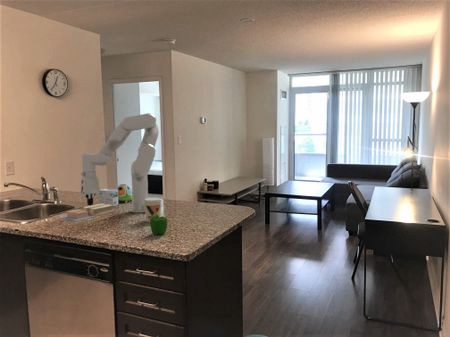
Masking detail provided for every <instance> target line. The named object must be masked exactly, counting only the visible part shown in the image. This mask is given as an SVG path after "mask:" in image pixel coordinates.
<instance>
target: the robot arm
mask: <svg viewBox="0 0 450 337" xmlns="http://www.w3.org/2000/svg"><path fill="white" fill-rule="evenodd" d="M138 130H144V133H143V136H142V139H141V142H140V144H139V146H138V149H137V157H136V159H135V160H134V161H133V162H132V163H131V166H130V172H131V173H130V174H131V190H132V201H131V202H132V204H131V205H132V206H131V207H132V208H130V209H129V211H130V212H131V213H139V214H141V213H145V204H144V200H145V199H146V198H149V190H148V189H149V182H148V174H149V172H150V170H151V168H152V166H153V162H154V160H155V157H156V148H155V147H156V143H157V141H158V139H159V138H158V137H159V134H160V133H159V126H158V123H157V117H156V116H155V115H154V114H152V113H149V112H148V113H143V114H137V115H130V116H125V117H124V118H123V119H122V120H120V122H119V123H118V125H117V126H116V128H115V129H114V130H113V132H112V133H111V134H110V136H108V137H109V138H108V139H107V140H106V142H105V143H104V145H103V146H101V149H100V150H99V151H98V152H97V153H92V152H91V153H90V152H88V153H87V152H86V153H82V155H81V164H82V165H81V166H82V168H81V170H82V172H81V173H80V176H81V179H80V193H81V197H85V199H86V200H87V202H86V204H87V206H91V205H94V198H95V196H96V195H99V190H100V181H99V178H98V175H97V170H96V169H97V166H99V167H100V166H101V167H102V166H103V167H104V166H107V165H108V164H109V163H110V159H111V157H112V156H113V154H115V152H117V150H118V149H119V148H121V147H122V145H123V144H124V143H125V141H126V140H127V139H128V138H129V136H130V135H131V133H132V132H133V131H138Z"/></svg>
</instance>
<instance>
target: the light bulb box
mask: <svg viewBox="0 0 450 337" xmlns="http://www.w3.org/2000/svg"><path fill="white" fill-rule="evenodd" d="M101 203H103V204H109V205H114V207H117V206H119V201H118V189H116V188H115V189H114V188H102V189H99V192H98V204H101Z"/></svg>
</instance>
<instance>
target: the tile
mask: <svg viewBox="0 0 450 337" xmlns="http://www.w3.org/2000/svg"><path fill="white" fill-rule="evenodd" d="M66 216H67V217H71V218H76V219H79V218H84V217H88V211H83V210H82V209H77V208H76V209H73V210H68V211H66Z"/></svg>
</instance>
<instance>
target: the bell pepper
mask: <svg viewBox="0 0 450 337" xmlns="http://www.w3.org/2000/svg"><path fill="white" fill-rule="evenodd" d="M153 215H154V216H155V215H156V217H154V218H151V219H150V222H149V226H150V230H151V233H152V234H153V235H155V236H157V235H164V234H165V233H166V232H167V228H168V219H167V217H165V216H160V217H159V215H158V214H153Z"/></svg>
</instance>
